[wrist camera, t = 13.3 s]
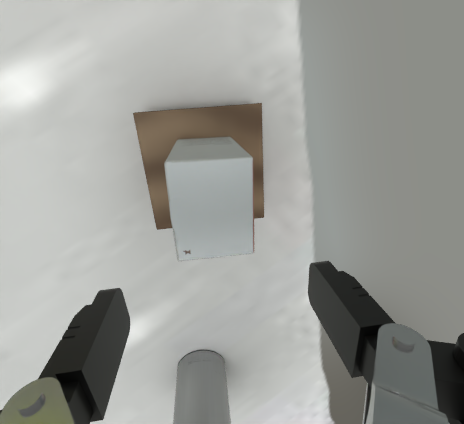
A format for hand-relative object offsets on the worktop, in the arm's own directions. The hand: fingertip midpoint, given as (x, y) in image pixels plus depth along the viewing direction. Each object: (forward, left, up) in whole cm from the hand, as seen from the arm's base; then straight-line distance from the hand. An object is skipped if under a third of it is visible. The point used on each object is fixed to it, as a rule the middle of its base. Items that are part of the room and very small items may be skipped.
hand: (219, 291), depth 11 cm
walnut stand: (0, 0, -27) cm, 27 cm away
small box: (0, 0, -22) cm, 22 cm away
